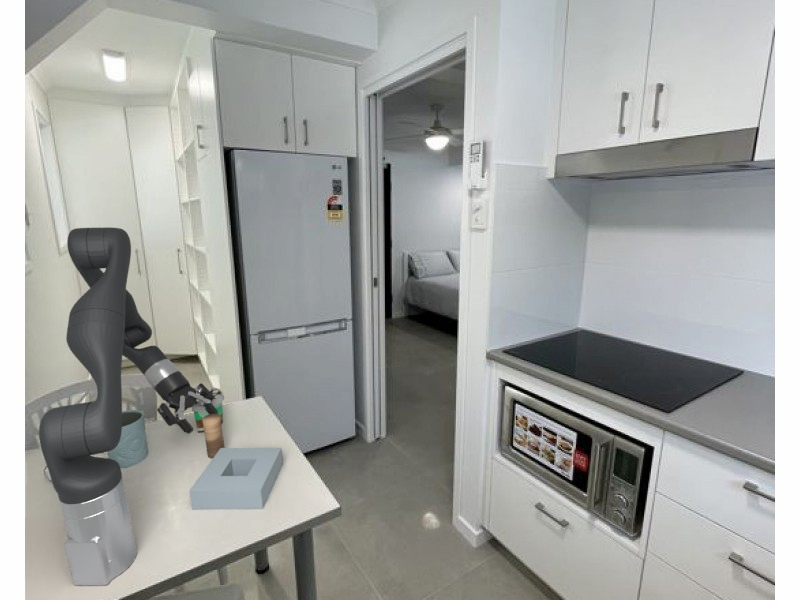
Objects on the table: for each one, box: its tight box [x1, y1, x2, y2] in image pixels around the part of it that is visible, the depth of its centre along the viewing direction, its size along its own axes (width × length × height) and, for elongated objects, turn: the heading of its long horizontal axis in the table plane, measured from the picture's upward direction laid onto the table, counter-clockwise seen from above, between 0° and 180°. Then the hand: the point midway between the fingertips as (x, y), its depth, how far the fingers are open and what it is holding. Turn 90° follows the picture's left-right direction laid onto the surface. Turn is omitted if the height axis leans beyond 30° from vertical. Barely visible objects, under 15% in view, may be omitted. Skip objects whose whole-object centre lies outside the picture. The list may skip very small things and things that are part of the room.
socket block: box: [188, 447, 284, 510], centre depth 98 cm, size 16×16×5 cm
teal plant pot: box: [107, 409, 149, 469], centre depth 108 cm, size 10×10×12 cm
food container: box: [191, 386, 225, 434], centre depth 124 cm, size 12×6×10 cm, turn 179°
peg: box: [202, 414, 225, 459], centre depth 110 cm, size 4×4×11 cm
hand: (203, 423), depth 110 cm, fingers open, 8 cm apart
